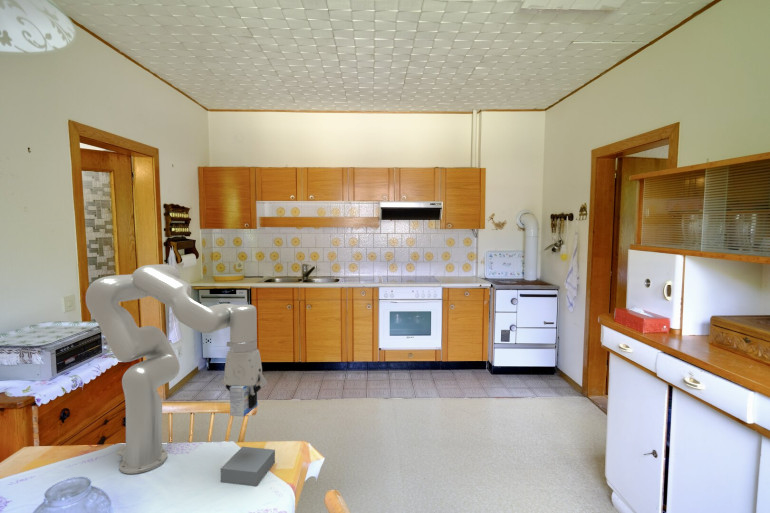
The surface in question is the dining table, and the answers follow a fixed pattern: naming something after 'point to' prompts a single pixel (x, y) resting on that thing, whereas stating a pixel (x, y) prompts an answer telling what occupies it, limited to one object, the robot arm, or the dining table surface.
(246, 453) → the base block
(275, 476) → the dining table surface
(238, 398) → the medicine box
